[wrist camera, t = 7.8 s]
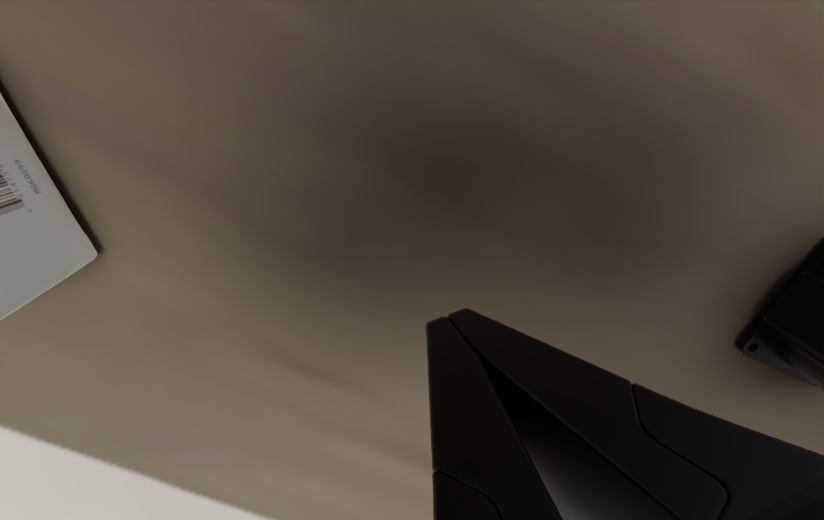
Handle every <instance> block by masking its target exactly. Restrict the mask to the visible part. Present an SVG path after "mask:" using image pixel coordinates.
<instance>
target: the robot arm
mask: <svg viewBox="0 0 824 520" xmlns="http://www.w3.org/2000/svg"><path fill="white" fill-rule="evenodd" d="M426 335H427V358H428V380H429V403H430V426H431V449H432V470H433V474H432V479H433V520H824V455H821V454H818V453H815V452H813V451H810V450H807V449H804V448H801V447H799V446H796V445H793V444H790V443H787V442H784V441H782V440H779V439H776V438H773V437H770V436H768V435H765V434H762V433H759V432H756V431H754V430H751V429H748V428H745V427H742V426H740V425H737V424H734V423H731V422H729V421H726V420H723V419H721V418H718V417H715V416H713V415H710V414H707V413H705V412H702V411H700V410H697V409H694V408H692V407H689V406H687V405H685V404H682V403H680V402H678V401H675V400H673V399H670V398H668V397H666V396H663V395H661V394H659V393H656V392H654V391H652V390H650V389H647V388H645V387H643V386H641V385H638V384H636V383H633V384H632V385H631V382H630V381H629V380H627V379H625V378H622V377H620V376H618V375H616V374H613V373H611V372H609V371H607V370H604V369H602V368H600V367H598V366H595V365H593V364H591V363H589V362H586V361H584V360H582V359H580V358H577V357H575V356H573V355H571V354H569V353H566V352H564V351H562V350H560V349H557V348H555V347H553V346H551V345H548V344H546V343H544V342H542V341H539V340H537V339H535V338H533V337H530V336H528V335H526V334H524V333H522V332H519V331H517V330H515V329H513V328H510V327H508V326H506V325H504V324H501V323H499V322H497V321H495V320H492V319H490V318H488V317H486V316H483V315H481V314H479V313H477V312H474V311H472V310H470V309H466V308H465V309H461V310H459V311H456V312H453V313H451V314H449V315H448V316H447V317H440V318H438V319H435V320H432V321H430V322H428V323H427V324H426ZM737 348H738V349H739V350H740V351H741V352H742V353H744V354H745V355H746V356H748V357H751V358H753V359H755V360H757V361H760V362H762V363H764V364H767V365H769V366H771V367H774V368H776V369H778V370H780V371H783V372H785V373H787V374H790V375H792V376H794V377H796V378H799V379H801V380H803V381H806V382H808V383H810V384H812V385H815V386H817V387H819V388H821V389H822V390H824V242H823V243H822V245H821V246H820V247H819V248H818V249H817V250H816V252H815V253H814V254H813V255H812V256H811V257H810V258H809V260H808V261H807V262H806V263H805V264H804V265H803V267H802V268H801V269H800V270H799V271H798V272H797V273H796V275H795V276H794V277H793V278H792V279H791V280H790V282H789V283H788V284H787V285H786V286H785V287H784V288H783V290H782V291H781V292H780V293H779V294H778V295H777V297H776V298H775V299H774V300H773V301H772V302H771V303H770V305H769V306H768V307H767V308H766V309H765V310H764V312H763V313H762V314H761V315H760V316H759V317H758V318H757V320H756V321H755V322H754V323H753V324H752V325H751V327H750V328H749V329H748V330H747V331H746V332H745V333H744V335H743V336H742V337H741V338H740V339H739V341H738V342H737Z"/></svg>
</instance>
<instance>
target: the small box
mask: <svg viewBox="0 0 824 520" xmlns="http://www.w3.org/2000/svg"><path fill="white" fill-rule="evenodd" d="M96 257H97V252H96V250H95V248H94V246H93V245H92V243H91V241H90V240H89V238H88V236H87V235H86V234H85V233H84V232H83V230H82V228H81V227H80V225H79V224H78V222H77V221H76V219H75V218H74V216H73V214H72V213H71V211H70V210H69V208H68V206H67V205H66V203H65V201H64V200H63V198H62V196H61V195H60V193H59V191H58V189H57V188H56V186H55V184H54V183H53V181H52V179H51V178H50V176H49V174H48V173H47V171H46V169H45V168H44V166H43V165H42V163H41V161H40V160H39V158H38V156H37V155H36V153H35V151H34V150H33V148H32V146H31V144H30V143H29V141H28V139H27V138H26V136H25V135H24V133H23V131H22V129H21V128H20V126H19V124H18V122H17V121H16V119H15V117H14V116H13V114H12V112H11V111H10V109H9V107H8V105H7V104H6V102H5V100H4V99H3V97H2V95H1V93H0V320H2V319H4V318H5V317H7V316H8V315H10V314H12V313H13V312H15V311H16V310H18V309H19V308H21V307H23V306H24V305H26V304H27V303H29V302H30V301H32V300H33V299H35V298H36V297H38V296H39V295H41V294H43V293H44V292H46V291H47V290H49V289H50V288H52V287H53V286H55V285H56V284H58V283H59V282H61V281H62V280H64V279H66V278H67V277H69V276H70V275H72V274H73V273H75V272H76V271H78V270H79V269H81V268H82V267H84V266H85V265H87V264H88V263H90V262H91V261H93V260H94V259H95V258H96Z"/></svg>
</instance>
